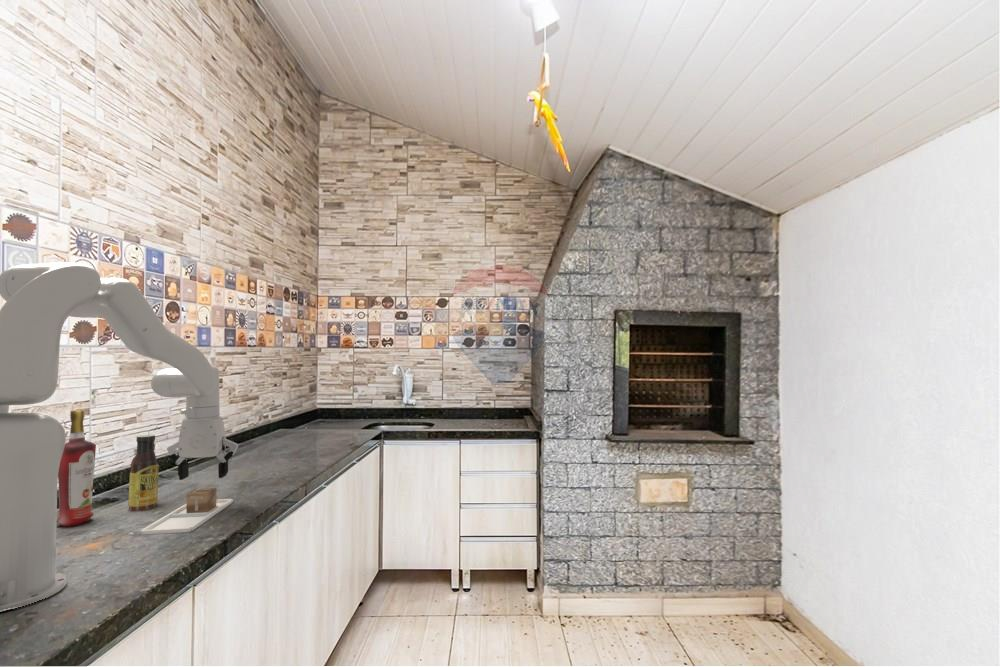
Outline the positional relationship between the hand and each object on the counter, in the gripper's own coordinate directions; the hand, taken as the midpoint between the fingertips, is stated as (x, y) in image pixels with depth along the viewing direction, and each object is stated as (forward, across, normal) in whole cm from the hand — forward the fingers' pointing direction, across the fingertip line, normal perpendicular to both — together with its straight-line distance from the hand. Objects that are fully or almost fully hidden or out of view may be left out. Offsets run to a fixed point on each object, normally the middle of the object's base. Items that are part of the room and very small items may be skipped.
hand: (203, 477), depth 125 cm
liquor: (+9, -28, -4) cm, 30 cm away
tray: (+9, 0, -6) cm, 11 cm away
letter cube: (+8, 0, -1) cm, 8 cm away
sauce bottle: (+9, -17, +4) cm, 20 cm away
